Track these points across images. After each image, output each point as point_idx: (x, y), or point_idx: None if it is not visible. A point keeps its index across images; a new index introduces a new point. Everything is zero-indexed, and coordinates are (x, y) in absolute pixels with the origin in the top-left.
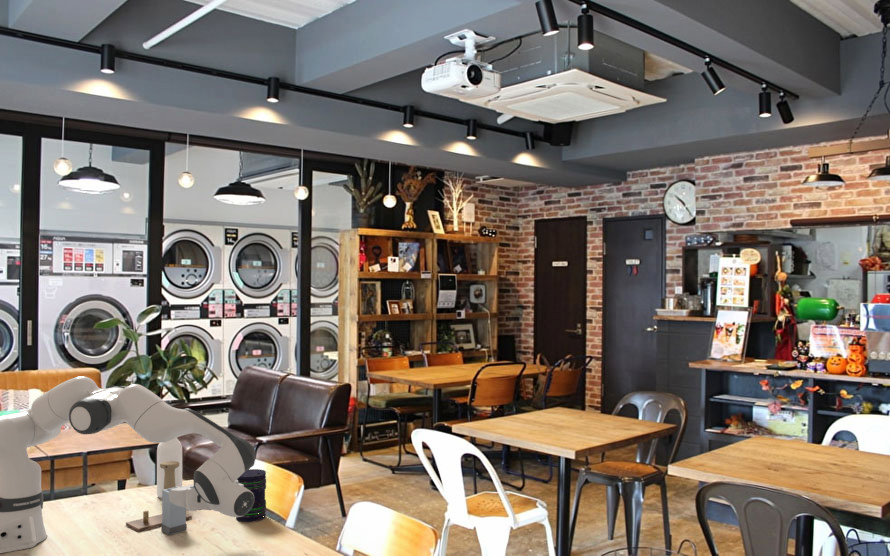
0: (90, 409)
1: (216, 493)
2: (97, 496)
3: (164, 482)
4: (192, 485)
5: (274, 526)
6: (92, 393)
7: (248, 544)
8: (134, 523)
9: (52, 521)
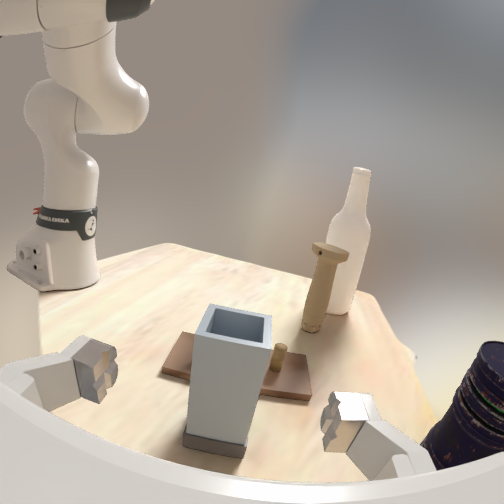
0: None
1: None
2: (251, 267)
3: (311, 283)
4: (21, 455)
5: None
6: None
7: None
8: (186, 344)
9: (148, 271)
